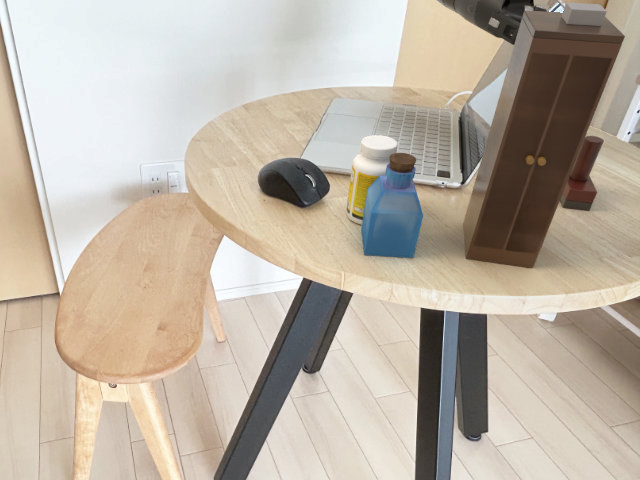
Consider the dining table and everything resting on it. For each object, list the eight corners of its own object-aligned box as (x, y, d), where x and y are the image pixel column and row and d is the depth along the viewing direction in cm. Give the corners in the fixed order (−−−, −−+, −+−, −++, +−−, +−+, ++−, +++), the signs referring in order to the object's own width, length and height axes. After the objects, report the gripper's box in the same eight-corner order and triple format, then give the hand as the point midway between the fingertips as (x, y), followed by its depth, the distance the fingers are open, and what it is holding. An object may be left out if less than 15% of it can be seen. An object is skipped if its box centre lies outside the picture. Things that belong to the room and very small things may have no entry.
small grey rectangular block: (594, 19, 59) (599, 4, 58) (601, 26, 57) (607, 11, 56) (561, 17, 60) (566, 2, 59) (566, 24, 57) (571, 9, 56)
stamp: (553, 183, 89) (575, 127, 83) (578, 185, 88) (602, 129, 82) (562, 207, 83) (586, 149, 77) (589, 210, 82) (615, 151, 76)
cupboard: (463, 223, 79) (524, 10, 62) (524, 231, 78) (603, 14, 61) (466, 261, 72) (536, 31, 55) (533, 271, 70) (627, 37, 53)
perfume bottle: (361, 229, 78) (374, 146, 70) (407, 232, 77) (425, 148, 70) (364, 255, 73) (378, 168, 65) (413, 258, 72) (433, 171, 65)
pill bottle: (399, 221, 79) (414, 146, 73) (362, 231, 77) (375, 155, 70) (372, 201, 84) (384, 129, 77) (337, 211, 82) (346, 137, 75)
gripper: (469, -23, 83) (556, 20, 73) (534, -26, 88) (623, 13, 79) (449, 30, 88) (529, 77, 79) (512, 24, 94) (593, 66, 84)
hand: (576, 45), depth 79 cm, fingers open, 8 cm apart
